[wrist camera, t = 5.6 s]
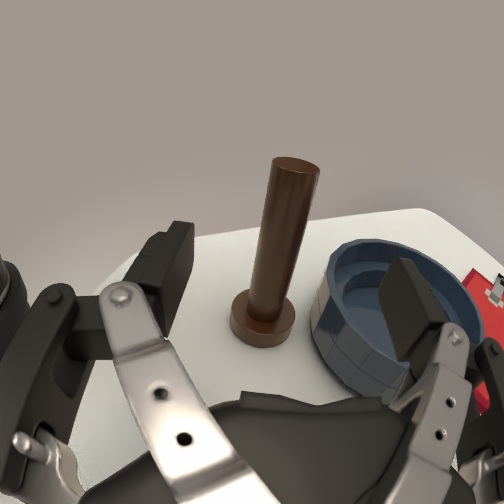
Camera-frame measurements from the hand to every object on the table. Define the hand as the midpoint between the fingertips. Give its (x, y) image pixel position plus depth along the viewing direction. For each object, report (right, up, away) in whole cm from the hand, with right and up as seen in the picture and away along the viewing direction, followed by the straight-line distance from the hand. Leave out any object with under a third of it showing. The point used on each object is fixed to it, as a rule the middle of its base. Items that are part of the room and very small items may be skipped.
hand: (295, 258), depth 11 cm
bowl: (+10, -7, +11) cm, 17 cm away
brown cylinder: (-1, -5, +11) cm, 12 cm away
